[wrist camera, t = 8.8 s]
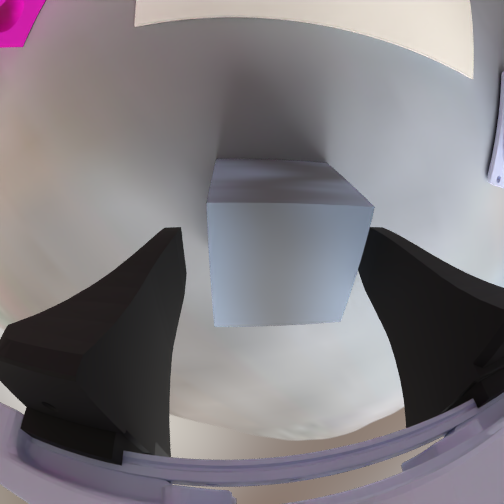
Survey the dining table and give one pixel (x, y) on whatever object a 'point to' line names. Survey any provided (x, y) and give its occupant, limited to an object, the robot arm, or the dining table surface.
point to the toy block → (17, 20)
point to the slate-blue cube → (283, 242)
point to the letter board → (347, 21)
